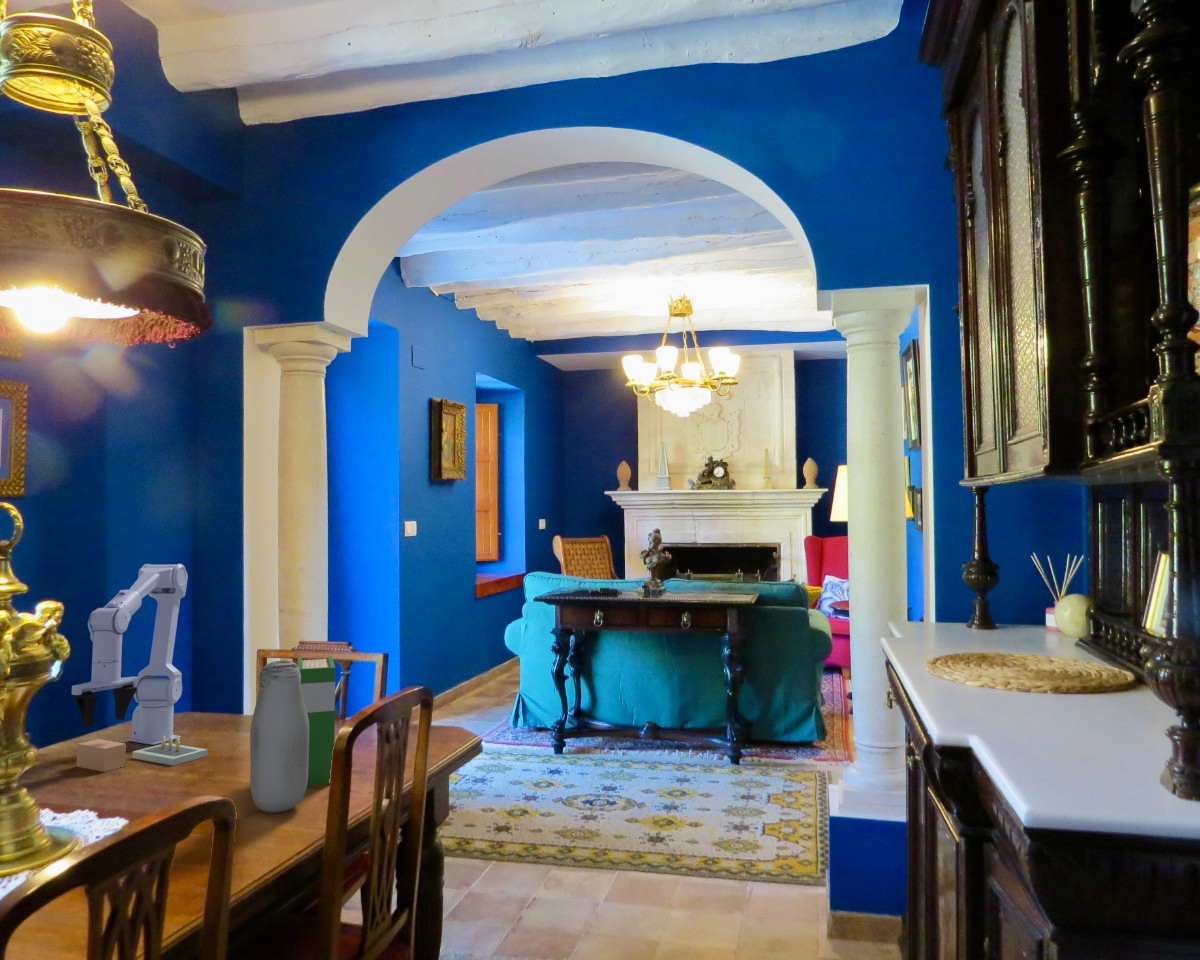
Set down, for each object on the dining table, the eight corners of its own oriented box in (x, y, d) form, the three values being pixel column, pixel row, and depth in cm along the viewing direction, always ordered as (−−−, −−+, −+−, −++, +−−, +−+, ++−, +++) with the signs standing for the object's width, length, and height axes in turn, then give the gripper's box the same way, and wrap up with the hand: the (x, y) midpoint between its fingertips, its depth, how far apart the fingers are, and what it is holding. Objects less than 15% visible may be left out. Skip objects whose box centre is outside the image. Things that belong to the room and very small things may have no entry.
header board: (132, 758, 198) (132, 738, 198) (167, 749, 206) (167, 730, 206) (172, 765, 191) (173, 745, 192) (207, 756, 199) (207, 736, 200)
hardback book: (295, 764, 192) (297, 657, 193) (330, 761, 195) (331, 655, 196) (296, 787, 176) (298, 669, 177) (333, 783, 178) (335, 667, 179)
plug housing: (76, 766, 191) (77, 743, 191) (97, 761, 195) (98, 739, 195) (104, 771, 186) (105, 748, 187) (125, 766, 191) (125, 743, 191)
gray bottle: (276, 799, 167) (279, 655, 169) (318, 805, 164) (320, 658, 165) (237, 815, 158) (240, 663, 160) (280, 822, 154) (283, 666, 156)
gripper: (124, 656, 201) (121, 715, 200) (63, 664, 187) (60, 727, 186) (144, 658, 198) (142, 717, 197) (85, 666, 185) (82, 730, 183)
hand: (104, 722), depth 191 cm, fingers open, 7 cm apart
